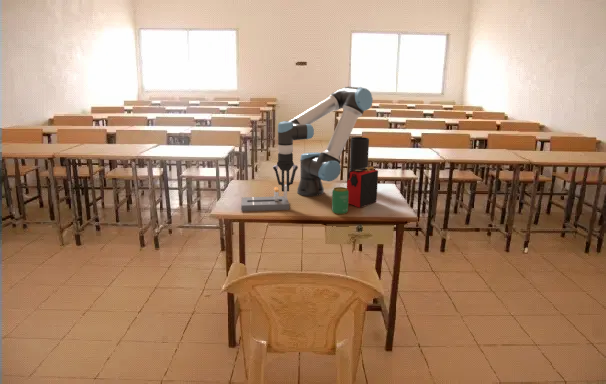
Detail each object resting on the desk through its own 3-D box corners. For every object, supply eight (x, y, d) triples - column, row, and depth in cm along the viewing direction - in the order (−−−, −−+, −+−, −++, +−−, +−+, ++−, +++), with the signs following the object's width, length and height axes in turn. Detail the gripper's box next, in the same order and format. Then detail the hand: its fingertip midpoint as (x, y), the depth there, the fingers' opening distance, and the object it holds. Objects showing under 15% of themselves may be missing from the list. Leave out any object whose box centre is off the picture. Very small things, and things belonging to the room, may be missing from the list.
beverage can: (342, 208, 234) (343, 186, 231) (350, 213, 228) (351, 190, 224) (328, 210, 231) (329, 187, 228) (337, 215, 224) (337, 192, 221)
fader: (278, 203, 240) (278, 187, 238) (278, 206, 236) (278, 189, 233) (274, 203, 240) (273, 187, 238) (274, 206, 235) (274, 190, 233)
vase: (367, 191, 266) (370, 140, 257) (350, 191, 266) (352, 140, 257) (365, 186, 276) (367, 137, 267) (348, 186, 275) (350, 137, 267)
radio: (362, 198, 252) (364, 162, 247) (377, 202, 245) (379, 166, 240) (344, 204, 241) (345, 167, 236) (359, 208, 235) (360, 170, 229)
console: (286, 201, 245) (286, 195, 245) (289, 209, 232) (289, 203, 231) (241, 202, 243) (241, 197, 242) (241, 211, 229) (241, 205, 228)
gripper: (297, 151, 235) (297, 195, 242) (272, 151, 234) (272, 195, 240) (299, 153, 228) (298, 199, 235) (272, 154, 226) (273, 199, 233)
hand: (285, 197), depth 237 cm, fingers closed
